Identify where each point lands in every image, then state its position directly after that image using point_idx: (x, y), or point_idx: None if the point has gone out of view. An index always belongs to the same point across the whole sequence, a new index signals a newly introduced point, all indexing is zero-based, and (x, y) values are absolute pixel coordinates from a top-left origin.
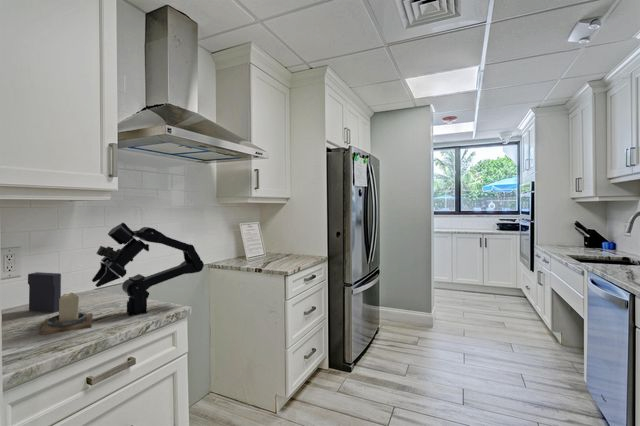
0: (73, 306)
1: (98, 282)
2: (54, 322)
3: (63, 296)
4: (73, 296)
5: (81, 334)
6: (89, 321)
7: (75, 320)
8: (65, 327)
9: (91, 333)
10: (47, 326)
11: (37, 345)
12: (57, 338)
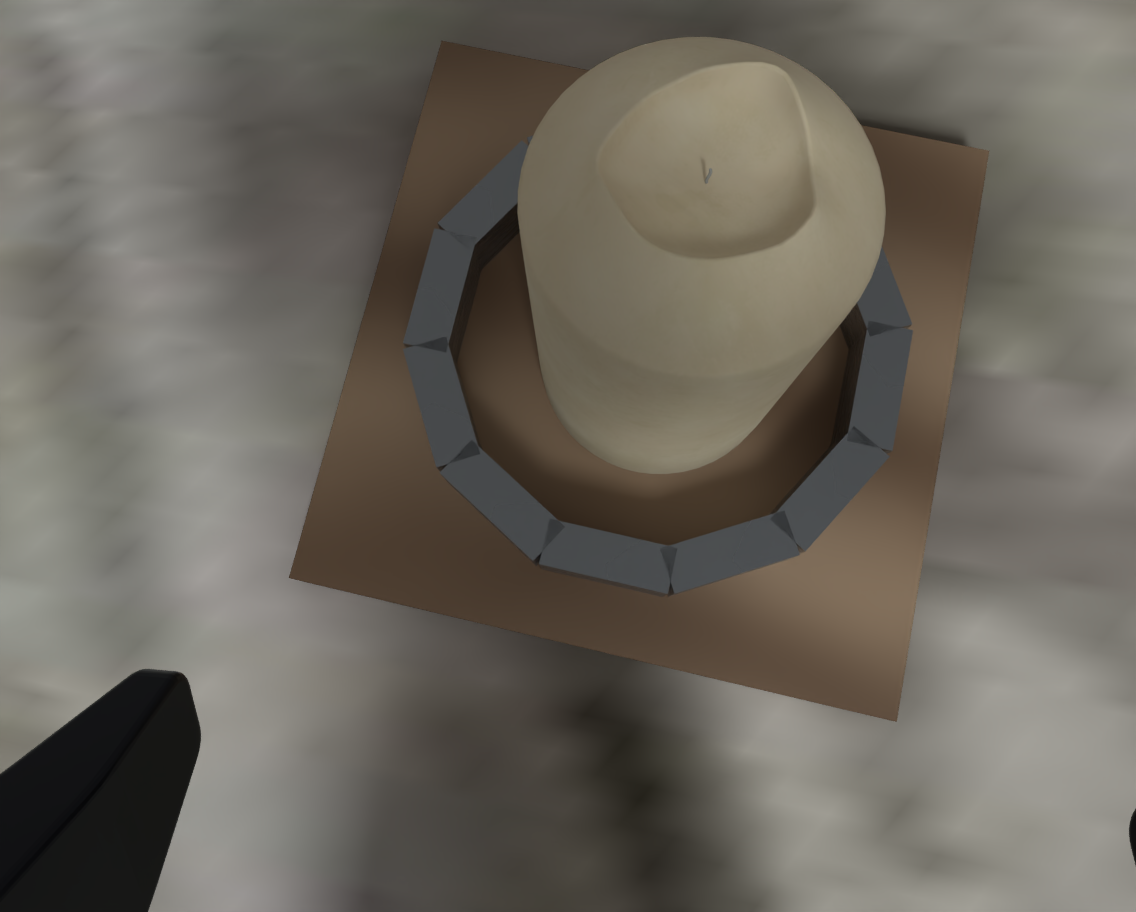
0: (537, 319)
1: (17, 778)
2: (515, 159)
3: (670, 66)
4: (569, 242)
5: (95, 426)
6: (448, 586)
7: (416, 389)
8: (393, 289)
9: (39, 529)
10: None
11: (84, 19)
12: (160, 195)
